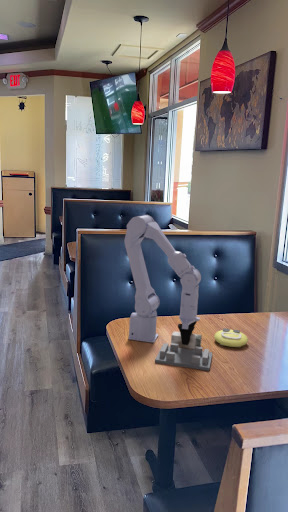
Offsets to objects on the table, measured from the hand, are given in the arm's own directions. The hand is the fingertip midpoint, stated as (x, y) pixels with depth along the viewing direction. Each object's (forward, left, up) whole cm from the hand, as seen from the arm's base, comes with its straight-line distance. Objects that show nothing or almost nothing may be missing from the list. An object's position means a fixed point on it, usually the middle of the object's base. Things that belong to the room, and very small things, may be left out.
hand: (186, 342), depth 147 cm
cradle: (+1, -11, -1) cm, 11 cm away
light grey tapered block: (0, 0, -1) cm, 1 cm away
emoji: (+15, +9, -2) cm, 18 cm away
